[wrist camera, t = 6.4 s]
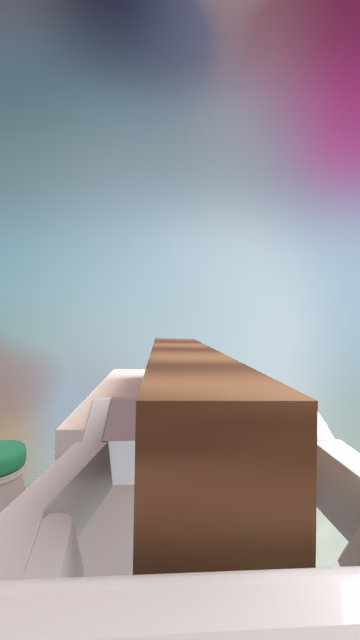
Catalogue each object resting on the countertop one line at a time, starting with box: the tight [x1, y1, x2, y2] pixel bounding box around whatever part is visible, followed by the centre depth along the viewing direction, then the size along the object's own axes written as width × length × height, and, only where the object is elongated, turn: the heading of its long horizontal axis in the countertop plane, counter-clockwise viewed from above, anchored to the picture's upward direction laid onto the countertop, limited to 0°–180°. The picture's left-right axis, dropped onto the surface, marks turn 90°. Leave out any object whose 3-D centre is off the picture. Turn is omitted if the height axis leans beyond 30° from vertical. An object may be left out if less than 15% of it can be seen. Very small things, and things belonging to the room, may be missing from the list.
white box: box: [55, 369, 146, 577], centre depth 23 cm, size 18×12×26 cm, turn 4°
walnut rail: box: [133, 338, 318, 575], centre depth 17 cm, size 22×4×4 cm, turn 4°
